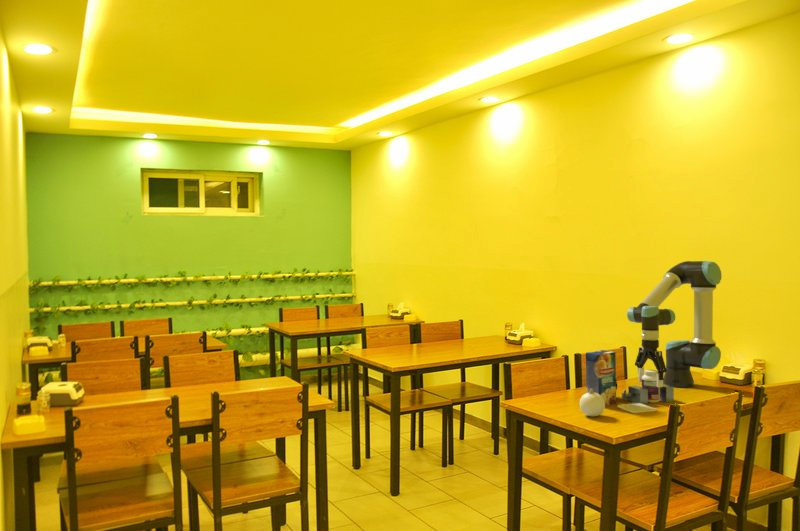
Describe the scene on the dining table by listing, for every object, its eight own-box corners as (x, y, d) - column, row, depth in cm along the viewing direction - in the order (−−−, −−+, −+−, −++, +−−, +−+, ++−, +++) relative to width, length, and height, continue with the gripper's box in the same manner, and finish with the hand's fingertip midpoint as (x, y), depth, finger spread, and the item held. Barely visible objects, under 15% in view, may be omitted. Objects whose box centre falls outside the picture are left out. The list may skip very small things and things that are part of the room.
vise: (653, 395, 314) (653, 381, 314) (673, 401, 300) (673, 386, 300) (611, 399, 308) (611, 384, 308) (630, 406, 294) (629, 390, 294)
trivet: (639, 404, 296) (639, 403, 296) (656, 410, 284) (656, 409, 284) (617, 407, 292) (617, 405, 292) (633, 413, 281) (633, 411, 281)
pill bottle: (646, 398, 308) (646, 368, 307) (663, 401, 302) (662, 370, 302) (638, 401, 302) (638, 371, 302) (655, 404, 296) (655, 373, 296)
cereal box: (599, 407, 293) (598, 354, 292) (586, 404, 299) (585, 352, 299) (616, 403, 300) (615, 352, 299) (603, 400, 306) (602, 350, 305)
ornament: (590, 420, 271) (590, 392, 271) (575, 414, 280) (574, 387, 280) (609, 417, 275) (609, 389, 275) (593, 412, 285) (593, 385, 284)
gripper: (627, 336, 312) (627, 379, 313) (660, 342, 288) (661, 389, 289) (640, 335, 314) (640, 378, 315) (675, 342, 290) (675, 388, 290)
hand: (650, 384), depth 302 cm, fingers open, 13 cm apart
